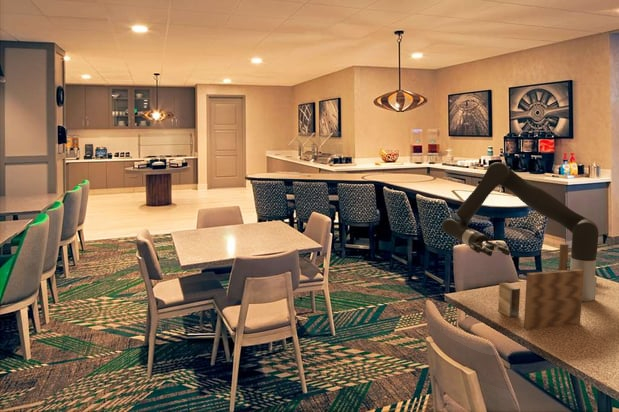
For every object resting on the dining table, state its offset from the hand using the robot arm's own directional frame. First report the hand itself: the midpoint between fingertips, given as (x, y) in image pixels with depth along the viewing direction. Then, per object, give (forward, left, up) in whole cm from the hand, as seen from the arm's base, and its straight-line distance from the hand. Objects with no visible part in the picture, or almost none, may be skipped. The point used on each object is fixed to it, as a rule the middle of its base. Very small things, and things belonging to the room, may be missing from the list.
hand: (500, 253), depth 197 cm
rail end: (+1, +9, -22) cm, 23 cm away
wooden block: (-51, -19, -22) cm, 59 cm away
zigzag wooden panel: (-7, +21, -22) cm, 31 cm away
